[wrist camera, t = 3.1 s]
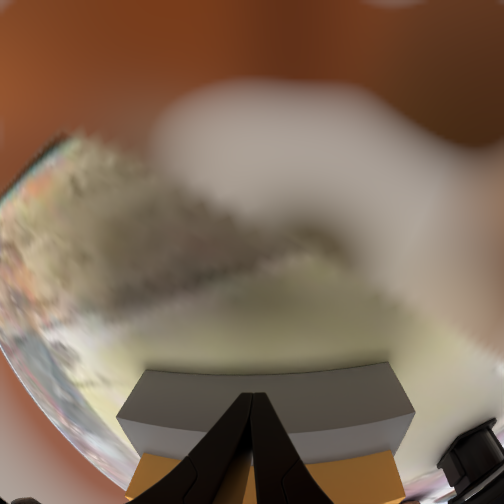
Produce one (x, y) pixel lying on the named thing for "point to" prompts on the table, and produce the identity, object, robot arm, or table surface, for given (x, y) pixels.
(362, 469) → the orange bar
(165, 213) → the table surface
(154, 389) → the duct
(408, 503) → the cupcake
